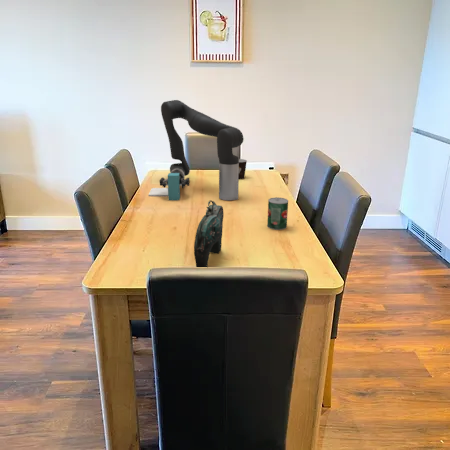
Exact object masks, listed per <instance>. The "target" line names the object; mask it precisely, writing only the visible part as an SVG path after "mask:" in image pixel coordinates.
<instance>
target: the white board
mask: <svg viewBox="0 0 450 450" xmlns="http://www.w3.org/2000/svg"><path fill="white" fill-rule="evenodd" d="M148 197H168V187H165V188H164V187H151V189H150V191H149V193H148Z"/></svg>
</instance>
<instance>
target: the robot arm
mask: <svg viewBox="0 0 450 450" xmlns="http://www.w3.org/2000/svg"><path fill="white" fill-rule="evenodd" d="M160 112H161V118H162V121H163V124H164V128H165V131H166V134H167V138H168V142H169V149H170V150H169V151H170V156H171V158H172V159H173V160H177V161H180V162H178V163H177V162H176V163H172V164H171V165H170V167H169V173H179V178H180V187H181V188H185V187H186V186H187V187H188V186H190V177H186V179H185V176H189V174H190V172H191V170H190V165H189V164H188V161H187V158H186V154H185V147H184V143H183V140H182V138H181V136H180V135H179V133H178V132H177V130H176V129H175V125H174V121H173V120H175V119H182V120H184V121H187V125H188V126H189V127H190V129H191V130H193V131H195V132H197V133H198V134H201V135H204V136H208V137H215V138H216V149H217V150H216V151H217V157H218V166H219V167H218V180H219V181H218V198H219V200H223V201H236V200H239V181H240V179H238V172H239V159H240V158H239V156H237V155H235V154H234V152H233V149H234V148H239V146H241V145H242V144H243V142H244V141H245V140H244V139H245V138H244V134H243V132H242V131H241V130H240V129H239V128H238V127H235V126H232V125H228V124H225V123H223V122H221V121H219V120H217V119H215V118H212V117H211V116H209V115H206V114H205V113H203V112H200V111H198V110H196V109H194V108H192V107H190V106H188V105H187V104H186V103H185V102H183V101H181V100H178V99H172V100H167V101H164V102H163V103H162V104H161V106H160ZM159 186H162V188H167V187H168V177H167V178H164V177H161V178H160V179H159Z"/></svg>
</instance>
